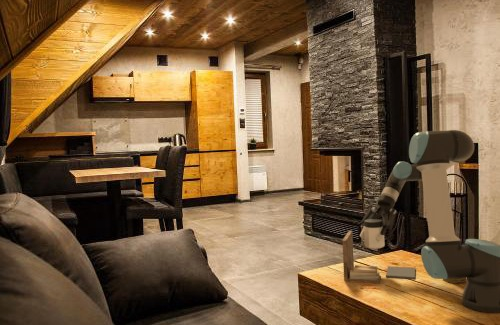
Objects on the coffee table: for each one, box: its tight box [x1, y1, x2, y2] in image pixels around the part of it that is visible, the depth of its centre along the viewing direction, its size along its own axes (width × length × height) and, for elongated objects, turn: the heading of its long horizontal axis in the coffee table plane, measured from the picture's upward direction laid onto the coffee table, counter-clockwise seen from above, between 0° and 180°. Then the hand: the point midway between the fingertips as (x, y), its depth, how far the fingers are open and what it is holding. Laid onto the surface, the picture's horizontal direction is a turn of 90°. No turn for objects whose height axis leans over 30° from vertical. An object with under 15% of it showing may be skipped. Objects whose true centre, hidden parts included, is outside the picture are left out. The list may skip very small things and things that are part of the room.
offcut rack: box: [341, 230, 382, 284], centre depth 194 cm, size 20×15×18 cm
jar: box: [362, 218, 386, 249], centre depth 196 cm, size 9×8×12 cm
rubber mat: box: [385, 265, 416, 280], centre depth 194 cm, size 14×12×1 cm
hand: (369, 238), depth 195 cm, fingers closed on jar, 8 cm apart
